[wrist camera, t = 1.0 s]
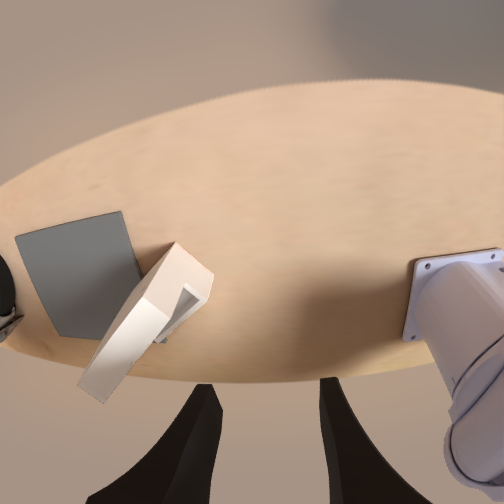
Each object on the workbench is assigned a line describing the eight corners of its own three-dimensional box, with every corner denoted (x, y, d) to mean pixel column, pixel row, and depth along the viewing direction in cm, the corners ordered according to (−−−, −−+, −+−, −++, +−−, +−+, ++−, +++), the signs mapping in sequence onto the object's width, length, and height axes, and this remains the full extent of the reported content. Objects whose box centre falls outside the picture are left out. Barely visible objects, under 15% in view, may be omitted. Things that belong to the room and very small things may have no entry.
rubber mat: (121, 210, 19) (118, 212, 19) (166, 340, 24) (165, 343, 24) (16, 235, 21) (14, 237, 21) (61, 333, 26) (60, 335, 26)
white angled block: (98, 335, 20) (76, 385, 12) (172, 241, 22) (185, 244, 14) (133, 361, 21) (130, 420, 13) (206, 270, 23) (238, 289, 15)
